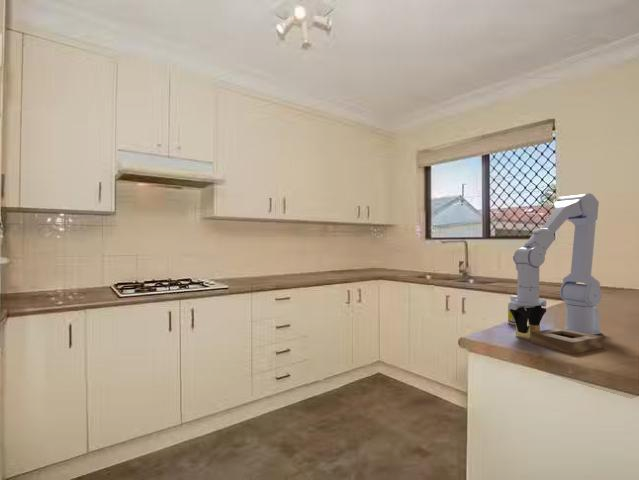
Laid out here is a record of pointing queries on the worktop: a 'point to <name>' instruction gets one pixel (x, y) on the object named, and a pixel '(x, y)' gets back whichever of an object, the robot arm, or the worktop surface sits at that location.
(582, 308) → the robot arm
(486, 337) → the worktop surface
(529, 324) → the wooden block
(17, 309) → the worktop surface
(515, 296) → the supplement bottle
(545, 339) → the brown wooden frame
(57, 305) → the worktop surface
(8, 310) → the worktop surface
